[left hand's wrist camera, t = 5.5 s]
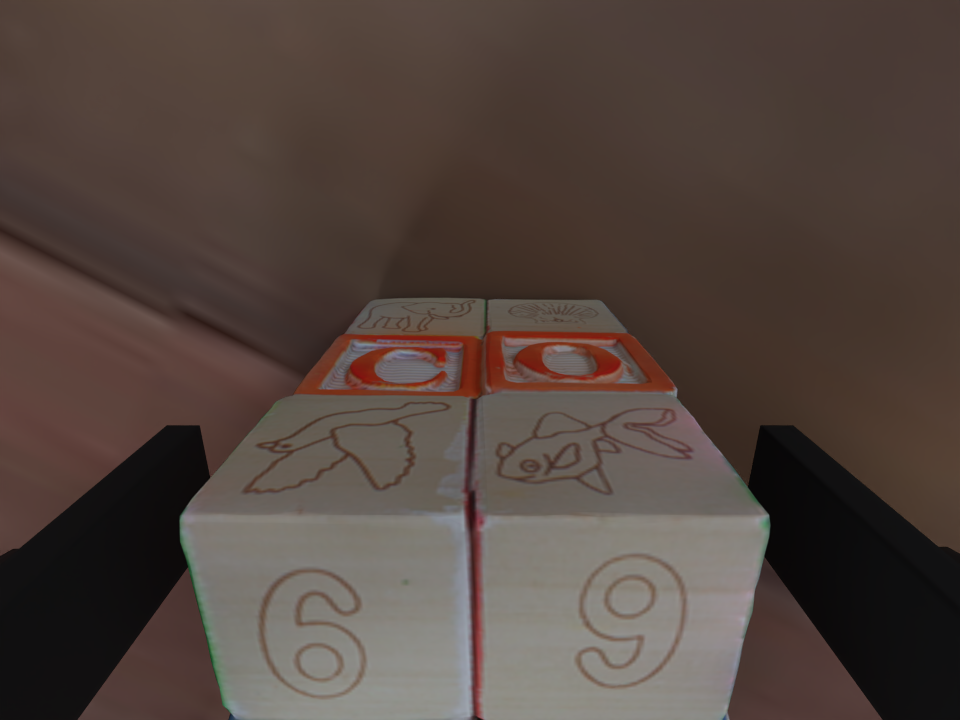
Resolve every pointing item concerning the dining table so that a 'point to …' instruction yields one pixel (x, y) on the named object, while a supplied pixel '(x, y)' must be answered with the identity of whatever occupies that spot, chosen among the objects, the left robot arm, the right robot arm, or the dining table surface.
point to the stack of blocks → (477, 529)
